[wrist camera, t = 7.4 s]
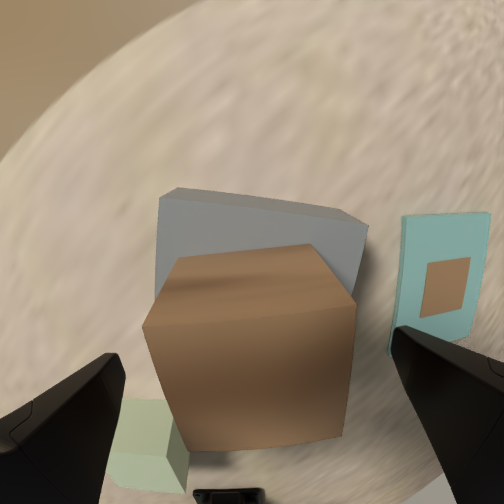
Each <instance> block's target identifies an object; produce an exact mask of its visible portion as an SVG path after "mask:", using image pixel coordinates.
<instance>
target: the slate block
mask: <svg viewBox="0 0 504 504" xmlns="http://www.w3.org/2000/svg"><path fill="white" fill-rule="evenodd" d="M368 227H369V225H367V224H365V223H363V222H362V221H360V220H358V219H356V218H355V217H353V216H351V215H349V214H347V213H346V212H344V211H342V210H340V209H335V208H330V207H323V206H317V205H311V204H305V203H298V202H292V201H285V200H278V199H271V198H264V197H256V196H249V195H241V194H233V193H225V192H216V191H207V190H198V189H189V188H179V187H178V188H176V189H174V190H172V191H170V192H169V193H167V194H165V195H163V196H161V197H160V198H159V210H158V225H157V242H156V266H155V300H156V298H157V296H158V294H159V292H160V290H161V289H162V287H163V285H164V283H165V281H166V279H167V277H168V275H169V274H170V272H171V270H172V268H173V266H174V264H175V263H176V261H177V259H178V257H188V256H197V255H206V254H216V253H225V252H235V251H244V250H254V249H263V248H273V247H282V246H292V245H301V244H311V245H312V246H313V248H314V249H315V250H316V251H317V253H318V254H319V255H320V257H321V258H322V259H323V260H324V262H325V263H326V264H327V266H328V267H329V268H330V269H331V271H332V272H333V273H334V275H335V276H336V277H337V279H338V280H339V281H340V283H341V284H342V285H343V287H344V288H345V289H346V291H347V292H348V293H349V295H350V296H352V292H353V289H354V285H355V281H356V277H357V274H358V270H359V266H360V262H361V258H362V253H363V249H364V245H365V241H366V236H367V232H368Z"/></svg>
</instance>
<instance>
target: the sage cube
mask: <svg viewBox="0 0 504 504" xmlns="http://www.w3.org/2000/svg"><path fill="white" fill-rule="evenodd" d="M189 457H190V452H188V451H187V449H186V447H185V444H184V442H183V440H182V437H181V435H180V433H179V430H178V428H177V426H176V423H175V421H174V418H173V416H172V413H171V411H170V408H169V405H168V403H167V400H166V399H141V398H124V397H123V398H122V404H121V410H120V416H119V420H118V424H117V428H116V431H115V435H114V439H113V443H112V447H111V451H110V455H109V459H108V463H107V467H106V472H107V473H108V475H109V476H110V477H111V479H112V480H113V481H114V482H115V484H116V485H117V486H118V487H124V488H130V489H137V490H145V491H154V492H164V493H178V494H186V485H187V476H188V466H189Z"/></svg>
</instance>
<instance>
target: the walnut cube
mask: <svg viewBox="0 0 504 504" xmlns="http://www.w3.org/2000/svg"><path fill="white" fill-rule="evenodd" d="M356 311H357V304H356V303H355V301H354V300H353V299H352V297H351V296H350V295H349V293H348V292H347V291H346V289H345V288H344V287H343V285H342V284H341V283H340V281H339V280H338V279H337V277H336V276H335V275H334V273H333V272H332V271H331V269H330V268H329V267H328V266H327V264H326V263H325V262H324V260H323V259H322V258H321V257H320V255H319V254H318V253H317V251H316V250H315V249H314V248H313V246H312V245H311V244H301V245H292V246H282V247H273V248H263V249H254V250H244V251H235V252H225V253H216V254H206V255H197V256H188V257H178V259H177V261H176V263H175V264H174V266H173V268H172V270H171V272H170V274H169V275H168V277H167V279H166V281H165V283H164V285H163V287H162V289H161V290H160V292H159V294H158V296H157V298H156V300H155V302H154V304H153V306H152V308H151V310H150V312H149V313H148V315H147V317H146V319H145V321H144V323H143V325H142V329H143V332H144V336H145V339H146V342H147V345H148V349H149V352H150V355H151V358H152V361H153V364H154V367H155V370H156V373H157V376H158V378H159V381H160V384H161V387H162V390H163V392H164V395H165V398H166V400H167V403H168V405H169V408H170V411H171V413H172V416H173V418H174V421H175V423H176V426H177V428H178V430H179V433H180V435H181V437H182V440H183V442H184V444H185V447H186V449H187V451H188V452H215V451H237V450H251V449H262V448H272V447H280V446H288V445H295V444H302V443H308V442H314V441H320V440H325V439H330V438H335V437H340V436H342V432H343V426H344V420H345V413H346V407H347V400H348V393H349V385H350V377H351V368H352V359H353V349H354V338H355V326H356Z"/></svg>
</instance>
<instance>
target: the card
mask: <svg viewBox="0 0 504 504" xmlns="http://www.w3.org/2000/svg"><path fill="white" fill-rule="evenodd" d="M490 220H491V214H490V213H487V212H476V213H451V214H429V215H409V216H402V235H401V251H400V264H399V274H398V284H397V293H396V301H395V309H394V316H393V322H392V329H391V335H390V341H389V346H388V352H387V354H388V355H389V357H390V358H391V357H392V355H391V350H390V348H391V342H392V336H393V331H394V329H395V328H396V327H398V326H403V325H407V326H410V327H412V328H415V329H417V330H420V331H423V332H425V333H428V334H430V335H433V336H435V337H438V338H440V339H443V340H446V341H448V342H451V341H455V340H458V339H461V338H464V337H467V336H469V333H470V330H471V326H472V322H473V318H474V314H475V310H476V306H477V302H478V298H479V293H480V288H481V283H482V278H483V273H484V267H485V261H486V254H487V247H488V239H489V230H490Z"/></svg>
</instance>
